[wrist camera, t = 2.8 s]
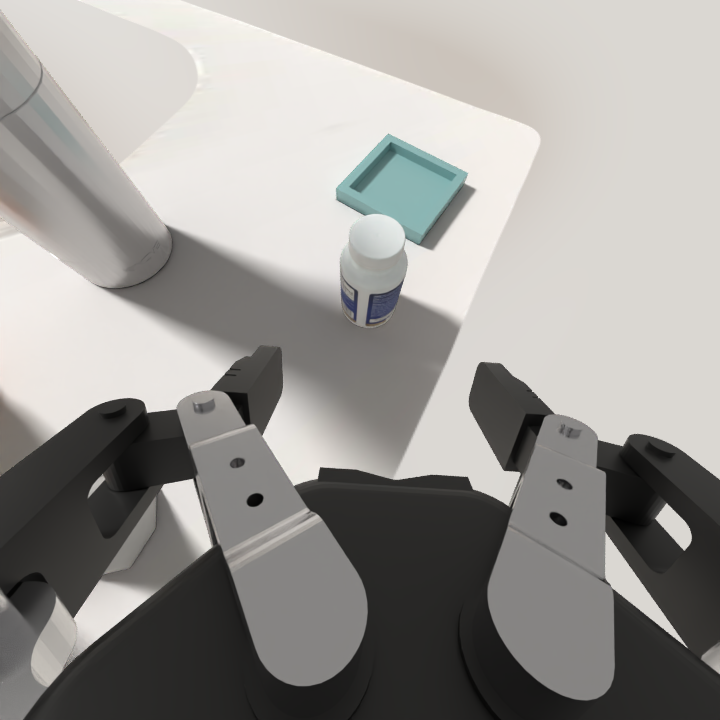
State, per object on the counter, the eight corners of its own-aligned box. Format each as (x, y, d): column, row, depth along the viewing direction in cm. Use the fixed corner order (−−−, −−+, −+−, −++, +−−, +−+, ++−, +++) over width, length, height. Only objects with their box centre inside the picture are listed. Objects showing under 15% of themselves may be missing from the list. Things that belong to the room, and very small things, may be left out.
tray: (336, 199, 34) (336, 188, 33) (386, 146, 37) (388, 133, 36) (418, 245, 33) (422, 235, 31) (463, 184, 36) (468, 173, 34)
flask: (85, 464, 24) (-85, 465, 14) (173, 477, 24) (61, 486, 14) (41, 569, 21) (-197, 652, 12) (139, 583, 21) (-22, 677, 12)
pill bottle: (399, 289, 31) (422, 215, 21) (388, 335, 29) (407, 275, 20) (349, 277, 31) (350, 197, 22) (334, 321, 29) (329, 256, 20)
